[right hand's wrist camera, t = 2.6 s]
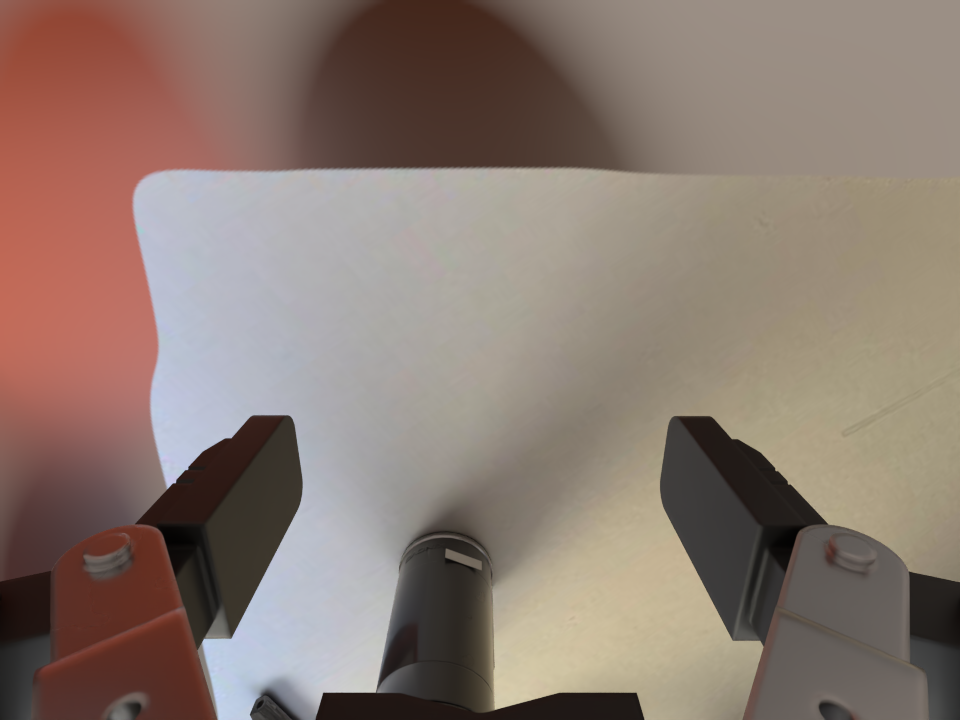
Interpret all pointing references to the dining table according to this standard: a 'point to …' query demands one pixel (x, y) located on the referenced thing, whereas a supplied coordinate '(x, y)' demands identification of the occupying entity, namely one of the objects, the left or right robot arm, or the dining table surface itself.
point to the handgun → (267, 710)
